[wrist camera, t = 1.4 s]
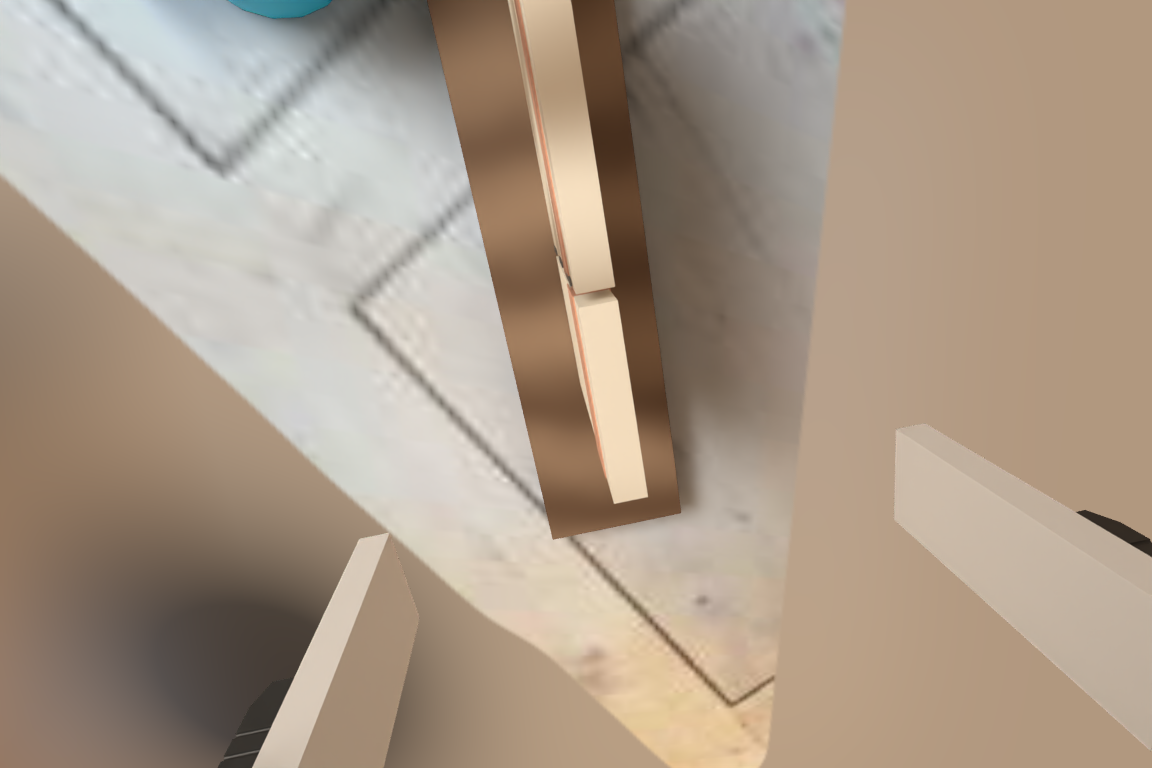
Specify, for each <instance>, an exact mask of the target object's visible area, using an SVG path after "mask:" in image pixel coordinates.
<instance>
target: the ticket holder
mask: <svg viewBox="0 0 1152 768" xmlns="http://www.w3.org/2000/svg"><path fill="white" fill-rule="evenodd" d="M427 3H428V7H429V11H430V15H431V20H432V24H433V28H434V33H435V37H436V41H437V45H438V50H439V54H440V58H441V63H442V67H443V71H444V75H445V80H446V84H447V88H448V92H449V97H450V101H451V105H452V110H453V114H454V118H455V122H456V127H457V131H458V135H459V140H460V144H461V148H462V152H463V157H464V161H465V165H466V170H467V174H468V178H469V182H470V187H471V191H472V195H473V200H474V204H475V208H476V212H477V217H478V221H479V225H480V230H481V234H482V238H483V242H484V247H485V251H486V255H487V260H488V264H489V268H490V272H491V277H492V281H493V285H494V289H495V294H496V298H497V302H498V307H499V311H500V315H501V319H502V324H503V328H504V332H505V337H506V341H507V345H508V349H509V354H510V358H511V362H512V367H513V371H514V375H515V379H516V384H517V388H518V392H519V397H520V401H521V405H522V409H523V414H524V418H525V422H526V427H527V431H528V435H529V439H530V444H531V448H532V452H533V457H534V461H535V465H536V469H537V474H538V478H539V482H540V486H541V491H542V495H543V499H544V504H545V508H546V512H547V516H548V521H549V525H550V529H551V534H552V538H553V539H558V538H563V537H568V536H573V535H577V534H582V533H587V532H592V531H597V530H602V529H606V528H611V527H616V526H621V525H626V524H631V523H636V522H640V521H645V520H650V519H655V518H660V517H665V516H669V515H674V514H679V513H681V507H680V500H679V492H678V484H677V477H676V469H675V461H674V454H673V446H672V439H671V431H670V423H669V416H668V408H667V400H666V393H665V385H664V377H663V370H662V362H661V355H660V347H659V339H658V332H657V324H656V316H655V309H654V301H653V293H652V286H651V278H650V271H649V263H648V255H647V248H646V240H645V232H644V225H643V217H642V209H641V202H640V194H639V187H638V179H637V171H636V164H635V156H634V148H633V141H632V133H631V125H630V118H629V110H628V103H627V95H626V87H625V80H624V72H623V64H622V57H621V49H620V41H619V34H618V26H617V19H616V11H615V3H614V0H427ZM556 256H558V257H559V261H560V264H561V266H562V268H564V273H565V275H566V277H567V280H568V282H569V284H570V286H572V287H573V289H574V291H575V293H576V294H581V293H586V292H591V291H596V290H601V289H606V288H610V289H611V292H612V294H613V295H614V296H615V298H616V299H617V300H618V305H619V312H620V318H621V325H622V331H623V338H624V344H625V351H626V357H627V364H628V370H629V377H630V383H631V390H632V396H633V403H634V409H635V416H636V422H637V429H638V435H639V441H640V448H641V454H642V461H643V467H644V474H645V480H646V487H647V493H648V497H645V498H641V499H636V500H631V501H626V502H621V503H616V504H614V502H613V498H612V495H611V491H610V488H609V484H608V480H607V478H605V475H604V471H603V467H602V464H601V460H600V457H599V453H598V449H597V444H596V439H595V434H594V431H593V427H592V424H591V420H590V417H589V413H588V409H587V406H586V402H585V399H584V395H583V392H582V388H581V385H580V379H579V374H578V369H577V364H576V358H575V353H574V348H573V342H572V337H571V332H570V327H569V321H568V316H567V311H566V305H565V300H564V295H563V290H562V284H561V279H560V274H559V268H558V263H557V258H556Z"/></svg>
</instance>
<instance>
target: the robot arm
mask: <svg viewBox="0 0 1152 768" xmlns="http://www.w3.org/2000/svg"><path fill="white" fill-rule="evenodd" d="M895 452H896V453H895V496H894V520H895V521H896V522H898V524H900V525H901V526H902V527H903V528H904V529H905V530H906V531H907V532H908V533H910V534H911V535H912V536H913V537H914V538H915V539H916V540H917V541H918V542H920V543H921V544H922V545H923V546H924V547H925V548H926V549H927V550H928V551H930V552H931V553H932V554H933V555H934V556H935V557H936V558H937V559H938V560H939V561H941V562H942V563H943V564H944V565H945V566H946V567H947V568H948V569H949V570H951V571H952V572H953V573H954V574H955V575H956V576H957V577H958V578H959V579H961V580H962V581H963V582H964V583H965V584H966V585H967V586H969V588H971V589H972V590H973V591H974V592H975V593H976V594H977V595H978V596H979V597H981V598H982V599H983V600H984V601H985V602H986V603H987V604H989V606H990V607H992V608H993V609H994V610H995V611H996V612H997V613H998V614H999V615H1000V616H1002V617H1003V618H1004V619H1005V620H1006V621H1007V622H1008V623H1009V624H1010V625H1012V626H1013V627H1014V628H1015V629H1016V630H1017V631H1018V632H1019V633H1020V634H1022V635H1023V636H1024V637H1025V638H1026V639H1027V640H1028V641H1029V642H1031V643H1032V644H1033V645H1034V646H1035V647H1036V648H1037V649H1038V650H1039V651H1040V652H1042V653H1043V654H1044V655H1045V656H1046V657H1047V658H1048V659H1049V660H1050V661H1052V662H1053V663H1054V664H1055V665H1056V666H1057V667H1058V668H1059V669H1061V671H1063V672H1064V673H1065V674H1066V675H1067V676H1068V677H1069V678H1070V679H1072V680H1073V681H1074V682H1075V683H1076V684H1077V685H1078V686H1079V687H1080V688H1081V689H1083V690H1084V691H1085V692H1086V693H1087V694H1088V695H1089V696H1090V697H1091V698H1093V699H1094V700H1095V701H1096V702H1097V703H1098V704H1099V705H1100V706H1101V707H1102V708H1104V709H1105V710H1106V711H1107V712H1108V713H1109V714H1110V715H1111V716H1113V717H1114V718H1115V719H1116V720H1117V721H1118V722H1119V723H1120V724H1121V725H1122V726H1124V727H1125V728H1126V729H1127V730H1128V731H1129V732H1130V733H1131V734H1132V735H1134V736H1135V737H1136V738H1137V739H1138V740H1139V741H1140V742H1141V743H1142V744H1144V745H1145V746H1146V747H1147V748H1148V749H1149V750H1150V751H1152V543H1151V541H1150V539H1149V538H1147V537H1145V536H1144V535H1142V534H1140V533H1138V532H1136V531H1135V530H1133V529H1131V528H1129V527H1128V526H1126V525H1124V524H1122V523H1121V522H1118V521H1115V520H1112V519H1109V518H1106V517H1104V516H1101V515H1098V514H1095V513H1092V512H1089V511H1086V510H1083V511H1079V512H1074V511H1073V510H1071V509H1069V508H1067V507H1066V506H1064V505H1062V504H1061V503H1059V502H1057V501H1056V500H1054V499H1052V498H1051V497H1049V496H1047V495H1045V494H1044V493H1042V492H1040V491H1039V490H1037V489H1035V488H1034V487H1032V486H1030V485H1028V484H1027V483H1025V482H1023V481H1022V480H1020V479H1018V478H1017V477H1015V476H1013V475H1012V474H1010V473H1008V472H1006V471H1005V470H1003V469H1001V468H1000V467H998V466H996V465H995V464H993V463H991V462H990V461H988V460H986V459H985V458H983V457H981V456H979V455H978V454H976V453H975V452H973V451H971V450H969V449H968V448H966V447H964V446H963V445H961V444H959V443H958V442H956V441H954V440H953V439H951V438H949V437H947V436H946V435H944V434H942V433H941V432H939V431H937V430H936V429H934V428H932V427H931V426H929V425H927V424H925V423H923V424H919V425H913V426H909V427H904V428H899V429H896V450H895ZM418 623H419V615H418V612H417V609H416V606H415V604H414V601H413V598H412V595H411V592H410V589H409V586H408V584H407V581H406V578H405V575H404V573H403V569H402V567H401V564H400V561H399V558H398V556H397V552H396V550H395V547H394V544H393V541H392V538H391V535H390V533H386V534H381V535H376V536H371V537H366V538H362V539H359V541H358V543H357V545H356V548H355V549H354V552H353V554H352V556H351V558H350V560H349V562H348V564H347V566H346V569H345V571H344V573H343V575H342V577H341V579H340V581H339V584H338V586H337V588H336V590H335V592H334V594H333V596H332V598H331V601H330V603H329V605H328V607H327V609H326V611H325V614H324V615H323V618H322V620H321V622H320V624H319V626H318V628H317V631H316V633H315V635H314V637H313V639H312V641H311V644H310V645H309V647H308V650H307V652H306V654H305V656H304V658H303V660H302V662H301V665H300V667H299V669H298V671H297V673H296V675H295V677H294V678H289V679H284V680H280V681H275V682H272V683H271V684H270V685H269V686H268V687H267V688H266V689H265V691H264V692H263V693H262V694H261V695H260V696H259V697H258V699H257V700H256V701H255V702H254V703H253V704H252V705H251V706H250V708H249V710H248V711H247V713H246V715H245V717H244V719H243V721H242V723H241V725H240V727H239V728H238V730H237V732H236V738H235V739H233V740H232V742H231V744H230V746H229V747H228V749H227V751H226V753H225V755H224V761H222V762H221V763H220V765H219V766H218V768H383V767H384V763H385V759H386V755H387V750H388V746H389V741H390V738H391V734H392V730H393V726H394V721H395V717H396V713H397V709H398V705H399V701H400V697H401V693H402V688H403V685H404V680H405V676H406V672H407V668H408V663H409V660H410V656H411V652H412V647H413V643H414V639H415V635H416V631H417V627H418Z"/></svg>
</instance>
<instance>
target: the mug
mask: <svg viewBox="0 0 1152 768" xmlns="http://www.w3.org/2000/svg"><path fill="white" fill-rule="evenodd" d="M228 1H229V2H231V3H233V4H234V5H236V6H238V7H239V8H241V9H243V10H245V11H249V12H252V13H256V14H259V15H262V16H266V17H269V18H273V19H276V18H294V17H303V16H305V15H308V14H310V13H312V12H314V11H316V10H318V9H321V8H323V7H325V6H327V5H328V4H329V3H330V2H331V1H332V0H228Z"/></svg>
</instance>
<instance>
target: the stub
mask: <svg viewBox="0 0 1152 768" xmlns="http://www.w3.org/2000/svg"><path fill="white" fill-rule="evenodd" d="M556 258H557V263H558V268H559V274H560V279H561V284H562V290H563V295H564V300H565V305H566V311H567V316H568V321H569V327H570V332H571V337H572V342H573V348H574V353H575V358H576V364H577V369H578V374H579V379H580V385H581V388H582V392H583V395H584V399H585V402H586V406H587V409H588V413H589V417H590V420H591V424H592V427H593V431H594V434H595V439H596V444H597V449H598V453H599V457H600V460H601V464H602V467H603V471H604V475H605V478H607V480H608V484H609V488H610V491H611V495H612V498H613V502H614V504H616V503H621V502H626V501H631V500H636V499H641V498H645V497H648V493H647V487H646V480H645V474H644V467H643V461H642V454H641V448H640V441H639V435H638V429H637V422H636V416H635V409H634V403H633V396H632V390H631V383H630V377H629V370H628V364H627V357H626V351H625V344H624V338H623V331H622V325H621V318H620V312H619V305H618V300H617V299H616V298H615V296H614V295H613V294H612V292H611V289H610V288H606V289H601V290H596V291H591V292H586V293H581V294H576V293H575V291H574V289H573V287H572V286H570V284H569V282H568V280H567V277H566V275H565V273H564V268H562V266H561V264H560V261H559V257H558V256H556Z"/></svg>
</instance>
